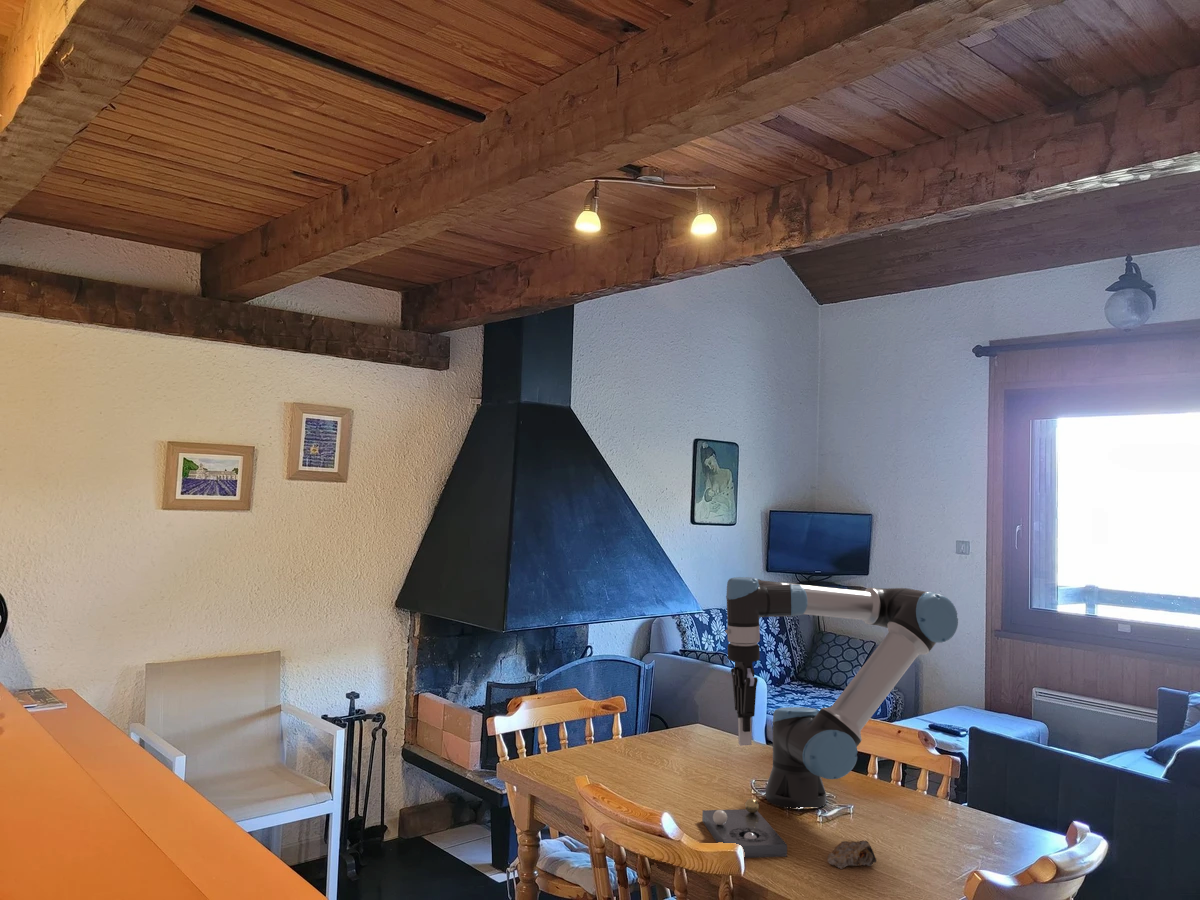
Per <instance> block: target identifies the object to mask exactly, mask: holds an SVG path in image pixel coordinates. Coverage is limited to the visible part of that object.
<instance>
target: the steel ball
mask: <svg viewBox="0 0 1200 900" xmlns="http://www.w3.org/2000/svg"><path fill="white" fill-rule="evenodd" d="M743 838H748V839H756V838H757V836H756V835H755V834H754V833H752V832H747V833H746V834H745V835H744V836H743Z"/></svg>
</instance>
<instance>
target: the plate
mask: <svg viewBox="0 0 1200 900" xmlns="http://www.w3.org/2000/svg"><path fill="white" fill-rule="evenodd" d="M717 810H718V809H710V810H709V809H707V810H706V809H704V810H703V809H702V813H701V814H702V823H703V824H704V826H705V827H706V829H707V830H708V832H709V833H710V835H711V836H712V838H713V839H714V841H715V842H716V843H717V842H723V843H736V844H739V845H741V846H742V847H743V849H744V852H745V857H746V858H745V859H749V858H751V859H752V858H781V857H782V858H783V857H784V858H785V857H788V844H787V843H786V841H784V839H783V838H782V836H780V834H778V833H777V831H776V830H775V829H774V828H773V827H772V826H771V824H770V823H769V822H768V821H767V820H766V819H765V817H763V815H762V814H761V813H760V812H759V810H758V811H757V812H756V813H749V812H748V811H747V810H746V808H745V809H740V808H739V809H722V810H723V811H724V812H725V813H726V814H727V821H726V823H725V824H723V825H718V824H716V823H715V822H714V820H713V814H714V813H715V811H717ZM747 832H752V833H754V834H755V835H756V836H757V838H756V839H748V838H743V836H744V835H745V834H746V833H747Z"/></svg>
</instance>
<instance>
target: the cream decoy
mask: <svg viewBox="0 0 1200 900" xmlns="http://www.w3.org/2000/svg"><path fill="white" fill-rule="evenodd" d="M716 810H717V811H715V813H714V814H713V820H714V822H715V823H716V824H718V825H723V824H725V823H726V821H727V814H726V813H725V812H724V811H723V810H724V809H716Z"/></svg>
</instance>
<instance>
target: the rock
mask: <svg viewBox="0 0 1200 900" xmlns="http://www.w3.org/2000/svg"><path fill="white" fill-rule="evenodd" d="M876 862H877V858H876V856H875V852H874V851H873V848H872V847H871V845H870V843H869V842H868V840H859V841H852V840H850V841H847V840H846V841H841V842H840V843H838V844H837V845H836V846H835V847H834V848H833V850H831V851H830V852H829V854H828V856H827V863H828V864H829V865H831V866H835V867H837V868H838V869H840V870H843V869H844V868H846V867H848V866H850V867H853V866H855V867H856V866H863V867H866V866H868V867H872V865H874V864H875V863H876Z"/></svg>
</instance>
